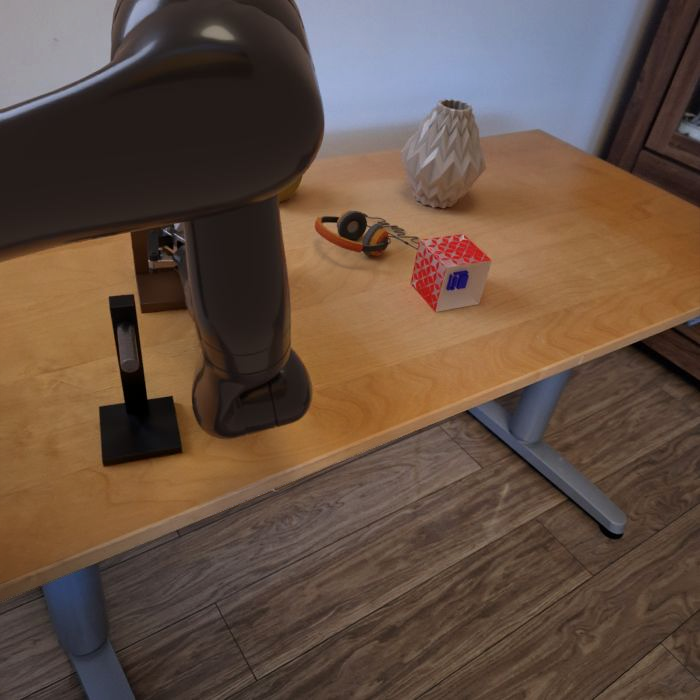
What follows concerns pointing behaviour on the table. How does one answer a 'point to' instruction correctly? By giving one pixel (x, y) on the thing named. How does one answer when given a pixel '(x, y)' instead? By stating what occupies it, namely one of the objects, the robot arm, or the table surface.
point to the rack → (155, 279)
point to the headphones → (359, 233)
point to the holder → (135, 400)
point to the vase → (444, 155)
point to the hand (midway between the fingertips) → (197, 218)
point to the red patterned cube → (450, 272)
